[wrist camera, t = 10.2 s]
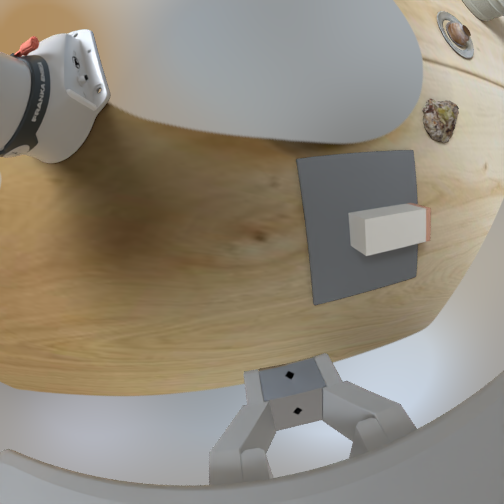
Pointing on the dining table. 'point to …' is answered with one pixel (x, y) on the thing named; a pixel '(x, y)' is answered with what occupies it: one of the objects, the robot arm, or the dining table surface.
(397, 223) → the cream block
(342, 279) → the rubber mat
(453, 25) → the pastry
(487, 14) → the jar
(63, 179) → the dining table surface
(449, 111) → the mineral rock
